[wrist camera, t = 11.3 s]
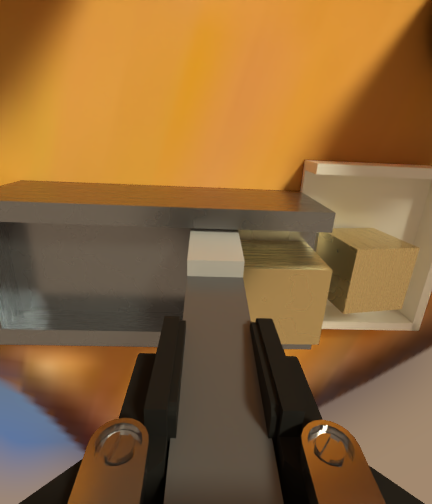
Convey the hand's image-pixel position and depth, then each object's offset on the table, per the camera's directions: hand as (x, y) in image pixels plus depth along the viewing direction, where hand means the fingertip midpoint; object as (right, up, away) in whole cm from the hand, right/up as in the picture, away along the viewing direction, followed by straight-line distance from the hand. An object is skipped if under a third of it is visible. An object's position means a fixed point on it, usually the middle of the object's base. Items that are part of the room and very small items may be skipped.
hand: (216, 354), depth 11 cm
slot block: (-4, +4, +11) cm, 12 cm away
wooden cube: (+7, +3, +8) cm, 11 cm away
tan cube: (+3, +2, +7) cm, 8 cm away
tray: (+10, +4, +11) cm, 15 cm away
